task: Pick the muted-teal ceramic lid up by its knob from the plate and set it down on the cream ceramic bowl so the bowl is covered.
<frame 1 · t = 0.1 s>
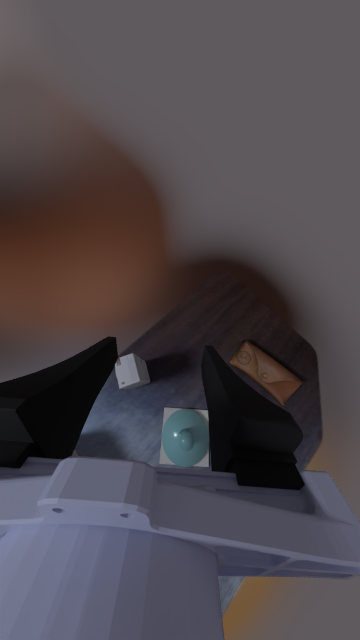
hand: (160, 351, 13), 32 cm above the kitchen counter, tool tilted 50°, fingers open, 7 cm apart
sunglasses case: (261, 371, 44), on the kitchen counter
lid: (185, 435, 37), resting on plate
skincare box: (139, 373, 42), on the kitchen counter
plate: (185, 435, 37), on the kitchen counter
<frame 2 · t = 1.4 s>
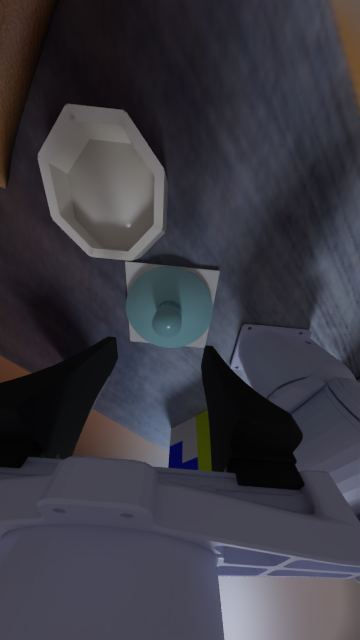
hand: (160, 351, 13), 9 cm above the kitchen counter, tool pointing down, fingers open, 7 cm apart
bowl: (118, 203, 16), on the kitchen counter
lid: (169, 310, 20), resting on plate
puzzle toy: (204, 429, 33), on the kitchen counter
plate: (170, 309, 21), on the kitchen counter
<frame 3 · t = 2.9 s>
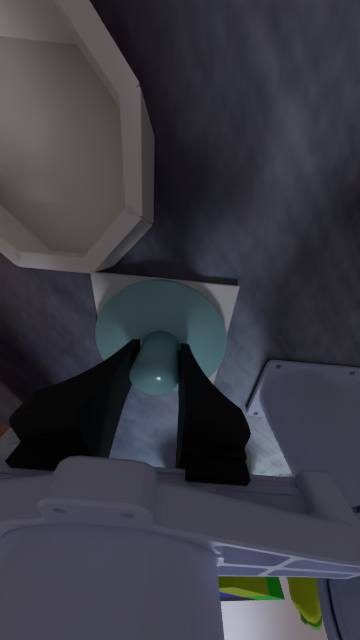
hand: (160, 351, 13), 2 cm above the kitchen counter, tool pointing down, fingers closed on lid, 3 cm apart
bowl: (70, 175, 9), on the kitchen counter
fruit basket: (285, 497, 30), on the kitchen counter
lid: (162, 341, 14), resting on plate, touching gripper
puzzle toy: (209, 474, 27), on the kitchen counter
skincare box: (58, 413, 20), on the kitchen counter
plate: (163, 339, 14), on the kitchen counter
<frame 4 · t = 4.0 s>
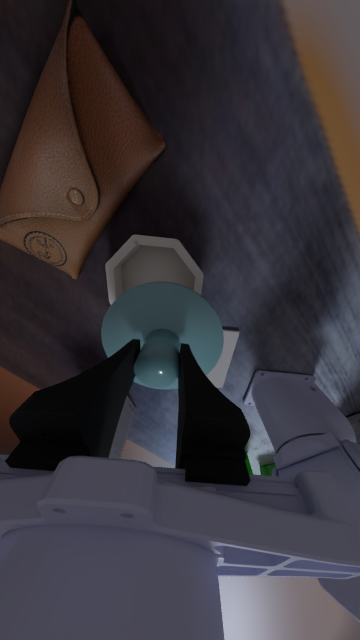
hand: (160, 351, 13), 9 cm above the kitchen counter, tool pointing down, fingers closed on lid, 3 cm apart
hard drive box: (357, 433, 32), on the kitchen counter
bowl: (158, 283, 19), on the kitchen counter
sunglasses case: (84, 193, 16), on the kitchen counter
lid: (163, 340, 15), point 7 cm above the kitchen counter, touching gripper
skincare box: (118, 403, 30), on the kitchen counter
plate: (194, 357, 24), on the kitchen counter
when the fingers open (6 cm above the kitchen counter, at t = 5.1 s): lid stays where it is, resting on bowl.
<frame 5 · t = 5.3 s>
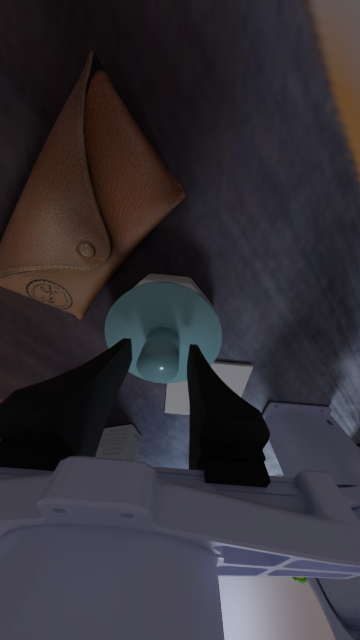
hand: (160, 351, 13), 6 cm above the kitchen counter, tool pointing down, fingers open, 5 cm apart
bowl: (167, 319, 18), on the kitchen counter
sunglasses case: (93, 235, 15), on the kitchen counter
lid: (164, 337, 15), point 3 cm above the kitchen counter, touching bowl
skincare box: (122, 431, 29), on the kitchen counter
plate: (204, 389, 23), on the kitchen counter
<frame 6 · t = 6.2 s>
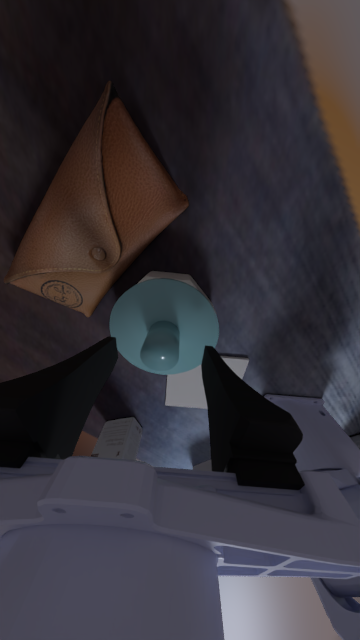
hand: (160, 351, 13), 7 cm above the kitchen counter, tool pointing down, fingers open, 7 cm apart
bowl: (167, 314, 19), on the kitchen counter
sunglasses case: (102, 239, 16), on the kitchen counter
lid: (165, 330, 16), point 3 cm above the kitchen counter, touching bowl
skincare box: (124, 424, 30), on the kitchen counter
plate: (202, 382, 24), on the kitchen counter
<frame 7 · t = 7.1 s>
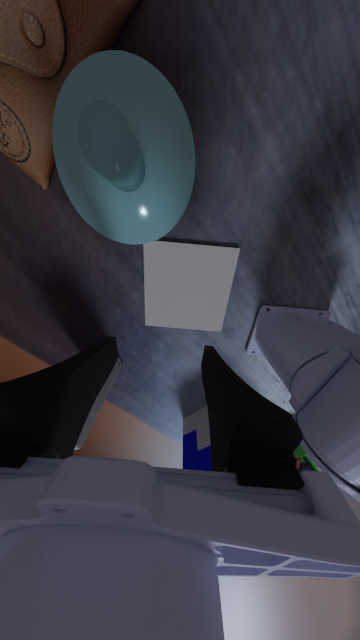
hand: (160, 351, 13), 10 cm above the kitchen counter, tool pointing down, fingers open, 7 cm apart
sunglasses case: (52, 58, 13), on the kitchen counter
fruit basket: (279, 442, 36), on the kitchen counter
lid: (128, 170, 13), point 3 cm above the kitchen counter, touching bowl
puzzle toy: (216, 418, 33), on the kitchen counter
skincare box: (102, 358, 26), on the kitchen counter
plate: (187, 290, 20), on the kitchen counter
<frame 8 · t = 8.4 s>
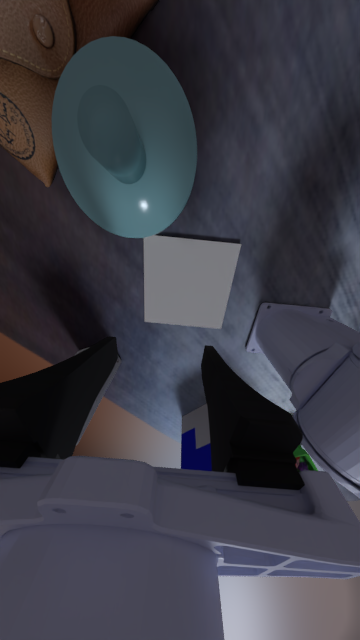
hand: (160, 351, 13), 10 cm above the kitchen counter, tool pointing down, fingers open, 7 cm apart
sunglasses case: (60, 58, 13), on the kitchen counter
fruit basket: (278, 441, 36), on the kitchen counter
lid: (129, 162, 13), point 3 cm above the kitchen counter, touching bowl
puzzle toy: (215, 417, 33), on the kitchen counter
skincare box: (101, 355, 26), on the kitchen counter
plate: (187, 286, 20), on the kitchen counter
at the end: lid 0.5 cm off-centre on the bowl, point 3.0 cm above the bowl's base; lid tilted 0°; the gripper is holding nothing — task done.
